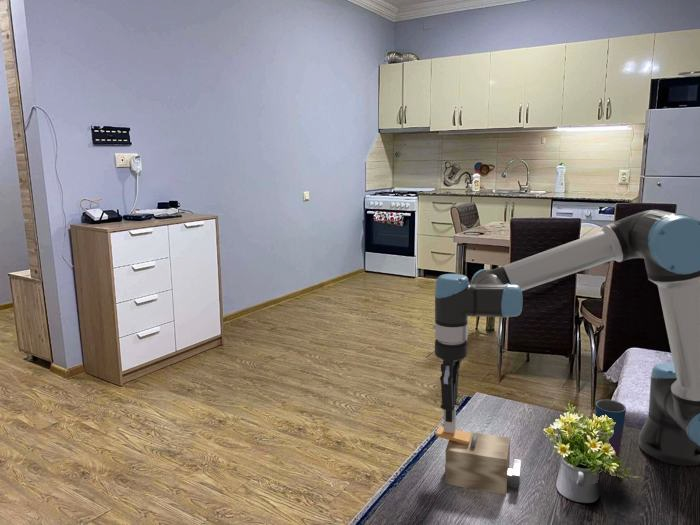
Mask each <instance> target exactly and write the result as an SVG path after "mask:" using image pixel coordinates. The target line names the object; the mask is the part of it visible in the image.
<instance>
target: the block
mask: <svg viewBox="0 0 700 525" xmlns="http://www.w3.org/2000/svg"><path fill="white" fill-rule="evenodd" d="M458 430H459V429H458ZM459 431H461V430H459ZM462 431H463V432H466V433H470V434H471V438H470V442H469V445H467V444H463V443H459V442H456V441H452V440H448V441H447V442H448V443H447V445H446V447H445V463H446V475H445V485H449V486H454V487H459V488H460V487H461V488H465V489H471V490H477V491H482V492H488V493H492V494H493V493H494V494H498V495H504V496H506V495H507V490H508V486H507V472H508V468H510V463H511V462H510V458H511V456H510V455H511V437H507V436H500V435H492V434H487V433H481V432H479V433H478V432H472V431H467V430H462ZM473 434H477V435H478V437H477V441H476V445H475V447H471V441H472V438H473Z"/></svg>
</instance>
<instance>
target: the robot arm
mask: <svg viewBox="0 0 700 525" xmlns="http://www.w3.org/2000/svg"><path fill="white" fill-rule="evenodd" d="M632 259H644V261H643V262H644V265H645V270H646V274H647V280H648V281H650V282H652V283H653V284H655V285H656V286H657V289H658V294H659V300H660V304H661V309H662V313H663V319H664V324H665V329H666V334H667V338H668V339H667V340H668V344H669V348H670V354H671V359H672V362H661V363H658V364H656V365H654V366H653V367H652V370H651V375H650V386H649V400H648V402H649V404H648V415H647V416H648V417H647V418H646V420H645V422H644V425H643V426H642V428H641V430H640V432H639V435H638V447H639V448H640V449H641V450H642V451H643V453H645V454H646V455H648V456H649V457H652V458H653V459H656V460H658V461H659V462H660V461H661V462H663V463H667V464H669V465H670V464H671V465H675V466H676V465H677V466H683V467H685V466H686V467H693V466H698V465H700V220H698V219H697V218H695V217H693V216H690V215H687V214H683V213H674V212H670V211H666V210H661V209H650V210H649V209H648V210H644V211H641V212H637V213H635V214H632V215H630V216H626V217H623V218H621V219H619V220H615V221H613V222H610V223H607V224H604V225H603V226H602V229H601V230H600V231H597V232H594V233H592V234H590V235H589V234H588V235H586V236H584V237H580V238H578V239H576V240H572V241H569V242H566V243H565V244H561V245H558V246H555V247H553V248H549V249H546V250H545V251H542V252H538V253H536V254H533V255H531V256H528V257H524V258H522V259H519V260H516V261H513V262H511V263H508V264H506V265H502V266H499V267H497V268H493V269H489V268H484V269H479V270H478V271H476V272H475V273H474V274H473V276H472V277H471V282H470V281H469V278H468V276H466V275H465V274H460V273H458V274H457V273H445V274H441V275H439V276H438V277H437V278H436V280H435V290H434V291H435V292H434V323H435V324H433V325H432V329H435V331H434V338H435V340H434V355H435V356H436V357H437V358H438V359H441V360H442V363H441V364H440V372H441V375H440V378H439V380H440V387H441V389H440V390H441V405H440V406H439V407H440V409H442V410H443V426H444V432H447V433H453V434H455V431H456V430H457V429H456V428H457V424H456V423H457V406H459V405H460V401H457V400H458V398H459V397H458V391H459V375H460V373H459V372H460V368H461V360H463V359H465V358H466V357H467V355H468V342H467V340H468V333H469V332H468V328H469V326H468V325H469V323H468V317H482V318H483V317H484V318H485V317H487V318H513V317H518V316H520V315H521V314H522V311H523V303H524V301H523V300H524V299H523V291H527V290H529V289H531V288H535V287H537V286H540V285H543V284H547V283H550V282H552V281H556V280H558V279H561V278H565V277H566V276H569V275H570V276H571V275H573V274H576V273H578V272H579V273H580V272H581V271H585V270H588V269H591V268H594V267H596V266H599V265H603V264H606V263H608V262H611V261H616V262H617V263H621V262H624V261H628V260H632Z"/></svg>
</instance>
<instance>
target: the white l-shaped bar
mask: <svg viewBox="0 0 700 525" xmlns="http://www.w3.org/2000/svg"><path fill="white" fill-rule="evenodd" d="M521 473H522V459H517V458H514V459H513V467H512V468H510V467H509V468H508V472H507V487H512V489H513V488H514V489H520V485H521V484H520V483H521V476H522V475H521ZM444 476H446V462H445V464H444Z"/></svg>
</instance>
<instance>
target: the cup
mask: <svg viewBox="0 0 700 525" xmlns="http://www.w3.org/2000/svg"><path fill="white" fill-rule="evenodd" d="M626 412H627V408H626V405H625V404H623V403H622V402H620V401H617V400H614V399H613V400H612V399H599V400H597V401H596V402H595V417H596V416H598V417H600V416H601V415H605V414H606V415H607V416H608V417H609V418H612V419H613V420H614V421H615V422H616V424H615V426H614V434H613V436H612V437H611V438H610V439H609V443H610V444H611V446H612V447H613V448H614V450H615V452H616V456H617V457H618V458H619V459H620V452H621V448H622V446H621V445H622V441H623V440H622V439H623V433H624V432H623V431H624V425H625V419H626V418H625V417H626Z"/></svg>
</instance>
